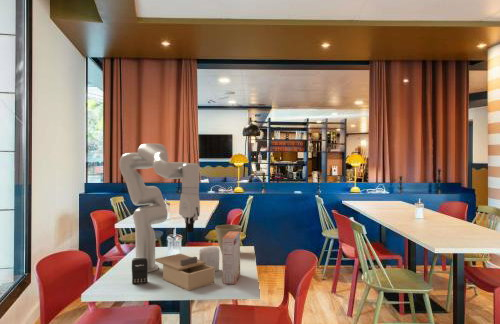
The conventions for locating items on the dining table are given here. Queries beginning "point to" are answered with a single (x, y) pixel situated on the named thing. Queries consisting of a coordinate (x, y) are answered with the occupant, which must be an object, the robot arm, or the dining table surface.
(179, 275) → the mailer box
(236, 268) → the cracker box
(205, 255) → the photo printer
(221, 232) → the plant pot
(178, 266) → the lid
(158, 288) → the dining table surface
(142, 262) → the battery charger
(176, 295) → the dining table surface
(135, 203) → the robot arm
